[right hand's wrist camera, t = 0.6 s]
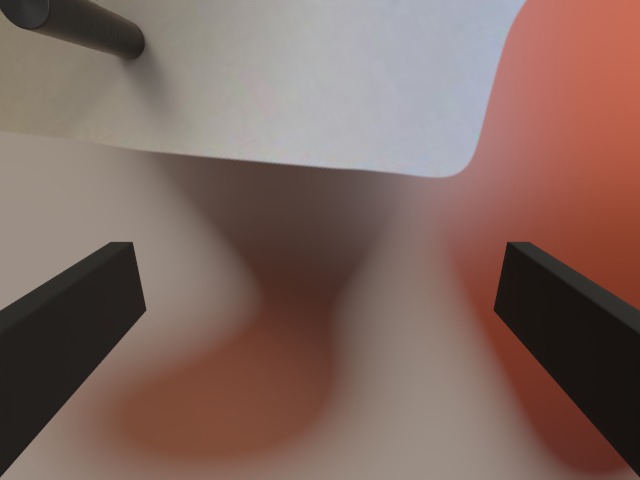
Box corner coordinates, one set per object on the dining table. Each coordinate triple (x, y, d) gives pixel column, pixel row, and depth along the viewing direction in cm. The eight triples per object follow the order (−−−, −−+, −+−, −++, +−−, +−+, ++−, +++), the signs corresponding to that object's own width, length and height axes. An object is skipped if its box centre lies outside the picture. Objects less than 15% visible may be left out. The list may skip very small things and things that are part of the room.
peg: (106, 19, 31) (-13, -35, 20) (142, 20, 31) (42, -33, 20) (112, 58, 32) (2, 28, 21) (147, 59, 32) (55, 30, 21)
